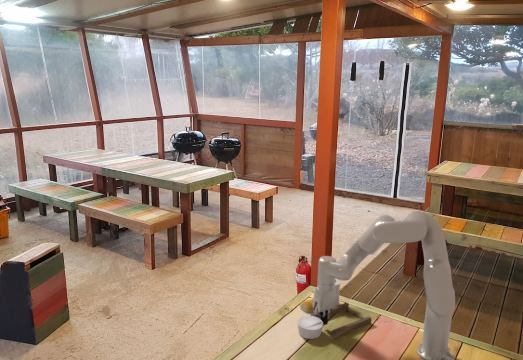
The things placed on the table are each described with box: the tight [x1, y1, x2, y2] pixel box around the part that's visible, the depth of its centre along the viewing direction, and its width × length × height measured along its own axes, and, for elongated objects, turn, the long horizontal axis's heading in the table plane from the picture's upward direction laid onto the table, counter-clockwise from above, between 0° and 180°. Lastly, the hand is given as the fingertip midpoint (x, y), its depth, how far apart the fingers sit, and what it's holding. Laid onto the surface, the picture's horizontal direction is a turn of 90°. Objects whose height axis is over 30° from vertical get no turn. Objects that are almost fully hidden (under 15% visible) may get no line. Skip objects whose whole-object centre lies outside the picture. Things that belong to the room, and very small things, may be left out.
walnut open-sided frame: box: [310, 302, 372, 339], centre depth 192 cm, size 16×22×3 cm
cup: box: [335, 278, 341, 306], centre depth 207 cm, size 8×8×12 cm
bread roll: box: [299, 299, 315, 314], centre depth 204 cm, size 8×9×4 cm
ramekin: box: [296, 315, 324, 340], centre depth 183 cm, size 11×11×5 cm
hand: (323, 323), depth 187 cm, fingers closed
